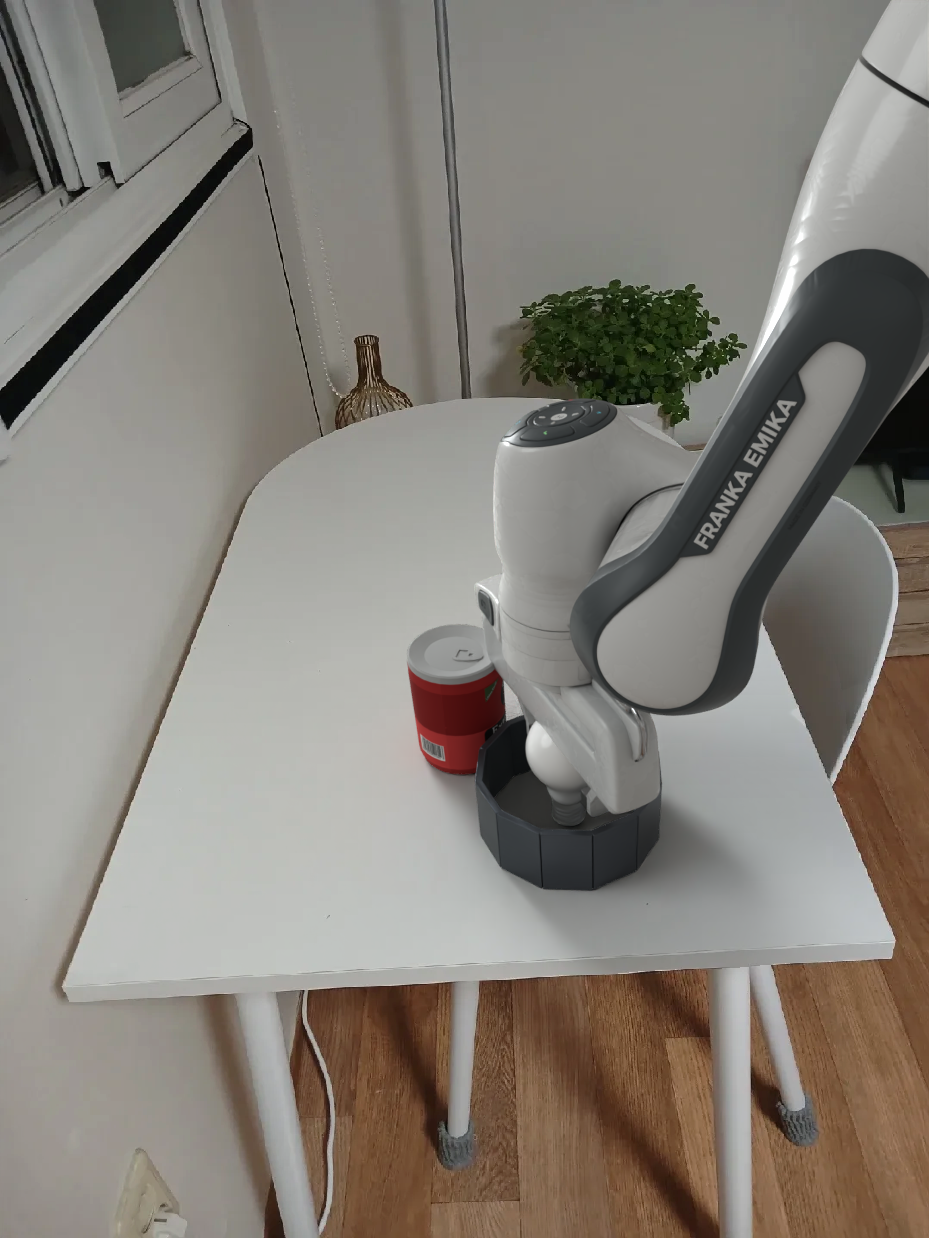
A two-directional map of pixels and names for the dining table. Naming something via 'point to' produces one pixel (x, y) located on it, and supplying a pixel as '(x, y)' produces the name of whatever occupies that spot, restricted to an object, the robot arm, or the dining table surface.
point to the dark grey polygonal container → (555, 851)
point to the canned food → (454, 695)
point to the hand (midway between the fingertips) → (567, 772)
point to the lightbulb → (556, 776)
